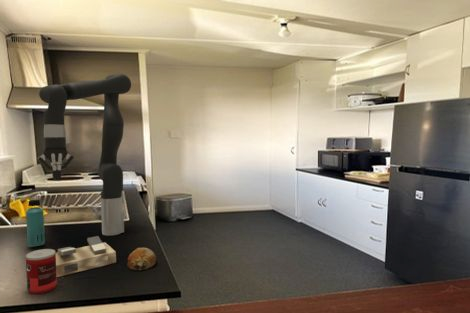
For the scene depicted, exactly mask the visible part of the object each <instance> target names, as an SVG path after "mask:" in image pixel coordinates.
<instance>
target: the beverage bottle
mask: <svg viewBox="0 0 470 313" xmlns="http://www.w3.org/2000/svg"><path fill="white" fill-rule="evenodd" d="M40 201H41V200H40V199H30V200H28V203H27V204H28V207H30V208H28V209H27V210H26V211H25V216H26V217H25V218H26V219H25V220H26V236H27V237H26V240H27V246H28V247H38V246H39V247H40V246H43V245H44V244H45V242H46V231H45V214H44V209H43V208H42V207H40V205H41V202H40ZM38 206H39V207H38Z"/></svg>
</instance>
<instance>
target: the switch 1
mask: <svg viewBox="0 0 470 313" xmlns="http://www.w3.org/2000/svg"><path fill="white" fill-rule="evenodd" d="M57 252H58V253H60V256H64V255H69V254H73V253H76V248H75V247H72V246H68V247H67V246H66V247H62V248H57Z"/></svg>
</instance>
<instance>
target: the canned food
mask: <svg viewBox="0 0 470 313" xmlns="http://www.w3.org/2000/svg"><path fill="white" fill-rule="evenodd" d="M25 270H26V271H25V272H26V285H27V286H26V288H27V291H28V293H30V294H38V293H39V294H44V293H46V292H51V291H52V290H53V289H55V288H56V287H57V283H58V277H57V274H56V250H55V249H52V248H43V249H38V250H37V249H36V250H33V251H30V252H28V253H27V254H26V255H25ZM39 294H38V295H39Z"/></svg>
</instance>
